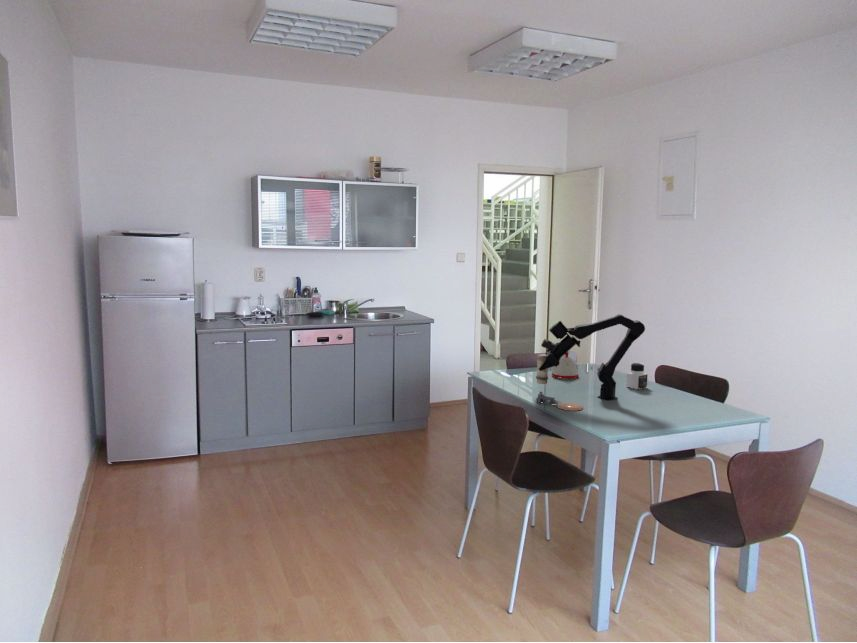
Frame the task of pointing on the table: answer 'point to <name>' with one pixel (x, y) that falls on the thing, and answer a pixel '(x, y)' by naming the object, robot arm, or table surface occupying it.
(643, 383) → the medicine bottle
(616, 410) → the table surface
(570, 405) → the terracotta coaster
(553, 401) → the grey angled bracket
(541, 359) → the birch ring post
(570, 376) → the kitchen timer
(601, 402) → the table surface
